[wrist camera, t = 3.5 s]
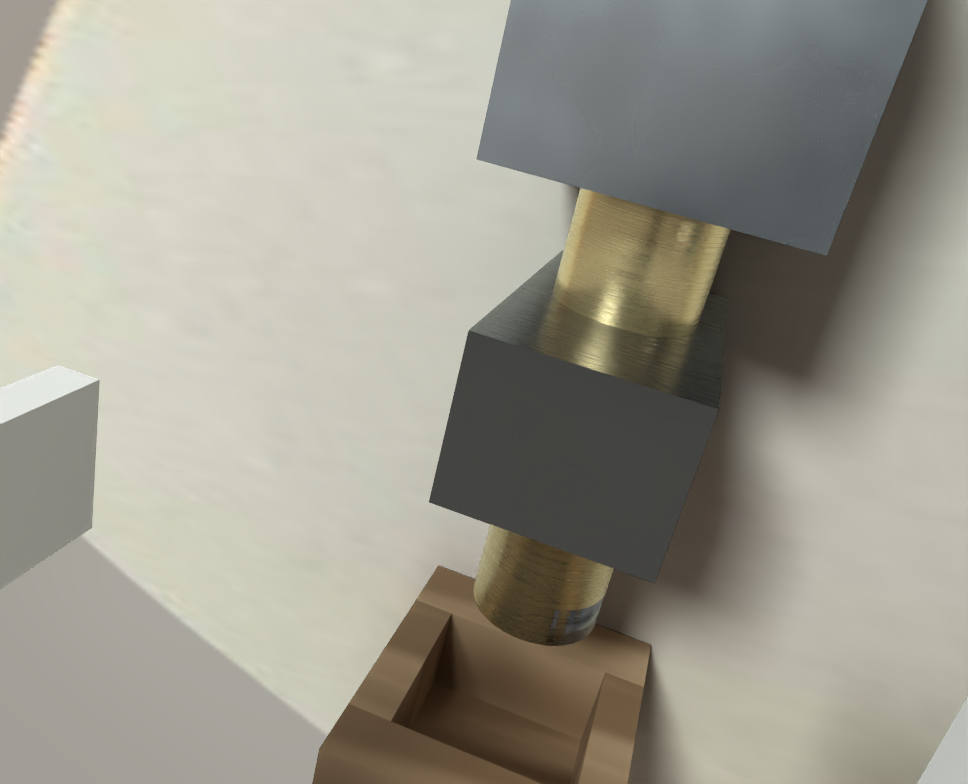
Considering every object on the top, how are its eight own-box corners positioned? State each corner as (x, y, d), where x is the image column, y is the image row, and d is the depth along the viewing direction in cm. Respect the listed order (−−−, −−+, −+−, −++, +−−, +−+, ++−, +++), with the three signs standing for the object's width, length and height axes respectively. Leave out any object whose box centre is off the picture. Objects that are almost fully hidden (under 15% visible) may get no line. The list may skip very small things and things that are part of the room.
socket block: (438, 565, 31) (319, 748, 22) (651, 644, 29) (612, 873, 21) (417, 650, 32) (298, 852, 24) (618, 730, 31) (569, 976, 22)
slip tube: (676, -175, 21) (629, -365, 12) (881, -136, 20) (985, -310, 11) (494, 504, 29) (387, 679, 20) (636, 554, 28) (588, 761, 19)
